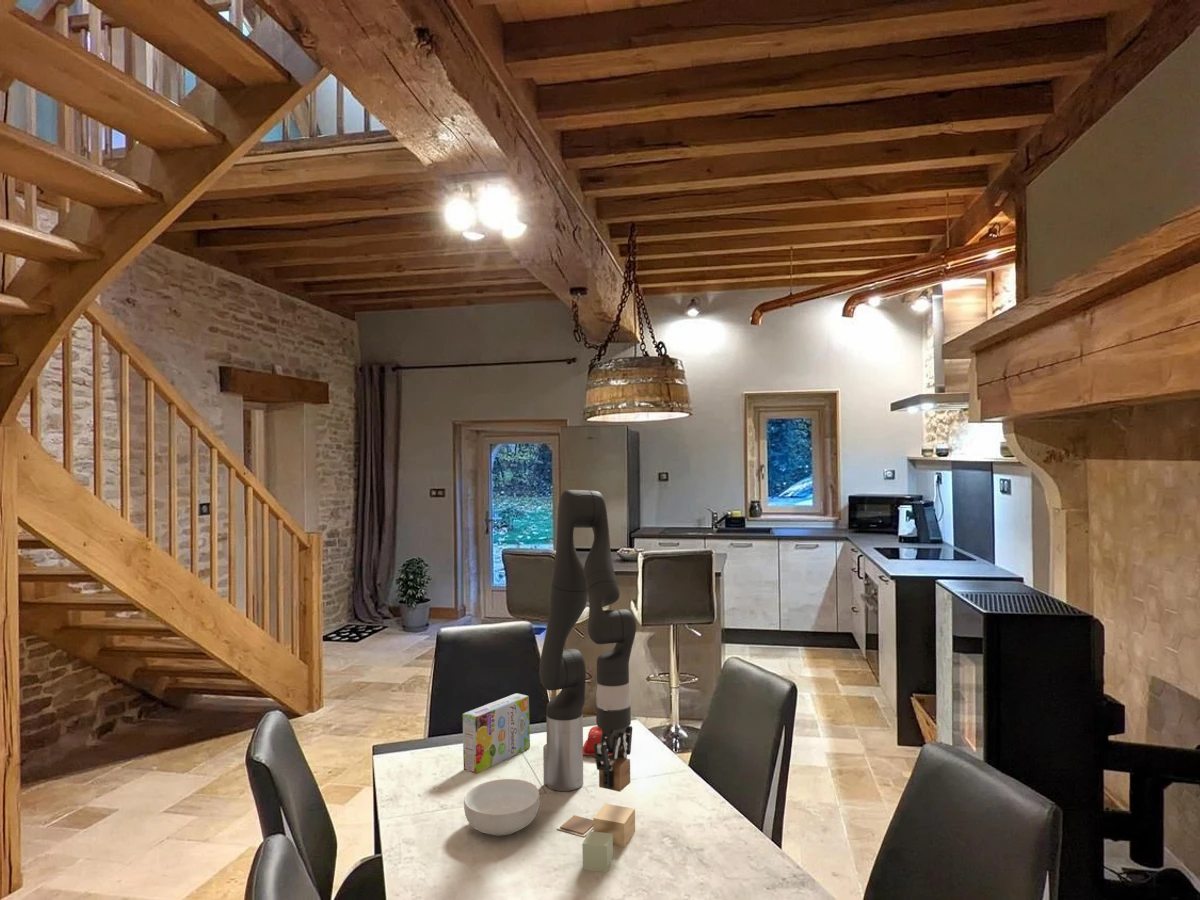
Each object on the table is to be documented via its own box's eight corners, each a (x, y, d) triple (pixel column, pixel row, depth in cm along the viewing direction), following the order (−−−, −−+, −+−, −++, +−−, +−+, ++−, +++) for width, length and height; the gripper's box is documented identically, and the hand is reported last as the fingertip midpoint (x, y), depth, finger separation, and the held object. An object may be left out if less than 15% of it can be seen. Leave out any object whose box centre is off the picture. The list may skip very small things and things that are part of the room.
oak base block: (593, 842, 147) (593, 818, 148) (605, 826, 154) (604, 803, 154) (624, 848, 145) (624, 823, 145) (635, 832, 151) (634, 808, 152)
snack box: (516, 744, 202) (516, 692, 203) (530, 748, 199) (530, 695, 199) (462, 769, 185) (461, 712, 185) (476, 774, 181) (476, 716, 182)
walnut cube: (599, 787, 149) (598, 763, 149) (610, 778, 153) (609, 755, 153) (620, 791, 146) (619, 767, 147) (630, 782, 151) (630, 759, 151)
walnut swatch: (557, 829, 152) (557, 827, 152) (573, 816, 158) (573, 814, 158) (584, 836, 149) (584, 834, 149) (599, 823, 155) (599, 820, 155)
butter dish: (586, 743, 203) (585, 713, 203) (625, 744, 202) (624, 714, 202) (580, 758, 192) (580, 727, 192) (621, 760, 190) (621, 728, 191)
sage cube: (582, 869, 137) (582, 843, 137) (589, 855, 142) (588, 830, 142) (607, 872, 136) (607, 846, 136) (613, 858, 141) (612, 833, 141)
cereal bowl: (456, 817, 158) (456, 786, 159) (526, 803, 165) (526, 773, 165) (473, 854, 143) (473, 819, 143) (550, 836, 149) (549, 803, 150)
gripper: (613, 691, 159) (614, 767, 158) (581, 710, 146) (583, 792, 145) (642, 696, 155) (644, 773, 154) (613, 715, 143) (614, 800, 142)
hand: (614, 782), depth 150 cm, fingers closed on walnut cube, 5 cm apart
